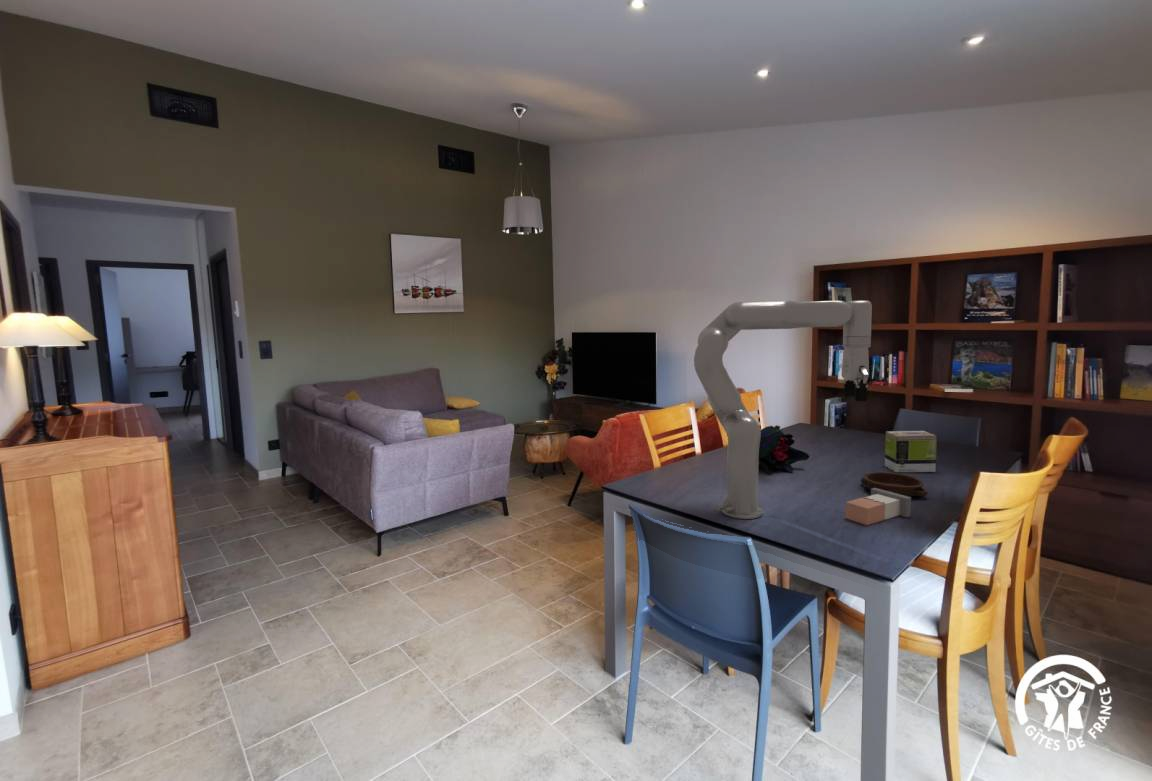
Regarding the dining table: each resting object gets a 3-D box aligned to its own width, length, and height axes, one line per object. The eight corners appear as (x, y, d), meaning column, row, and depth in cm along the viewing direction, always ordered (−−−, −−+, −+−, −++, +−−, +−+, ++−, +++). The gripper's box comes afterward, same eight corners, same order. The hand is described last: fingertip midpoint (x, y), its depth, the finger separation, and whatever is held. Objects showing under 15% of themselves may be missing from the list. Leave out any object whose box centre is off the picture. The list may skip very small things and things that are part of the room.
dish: (914, 506, 184) (915, 491, 184) (847, 490, 202) (848, 476, 201) (937, 494, 195) (938, 480, 194) (871, 480, 212) (872, 467, 211)
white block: (892, 522, 167) (893, 502, 166) (855, 511, 177) (856, 492, 177) (916, 514, 173) (917, 495, 172) (879, 504, 183) (880, 486, 182)
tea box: (922, 466, 229) (924, 430, 227) (935, 473, 219) (938, 435, 217) (883, 466, 231) (885, 430, 229) (894, 472, 221) (896, 435, 219)
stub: (867, 525, 165) (867, 508, 165) (845, 518, 171) (846, 501, 171) (883, 519, 169) (884, 503, 168) (862, 513, 175) (862, 496, 174)
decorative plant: (768, 483, 241) (828, 482, 215) (721, 467, 231) (778, 463, 205) (774, 437, 247) (833, 430, 221) (729, 418, 237) (785, 409, 211)
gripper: (834, 341, 180) (833, 394, 182) (853, 344, 163) (851, 403, 165) (859, 340, 179) (858, 394, 181) (881, 343, 162) (879, 402, 164)
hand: (855, 398), depth 173 cm, fingers open, 9 cm apart
